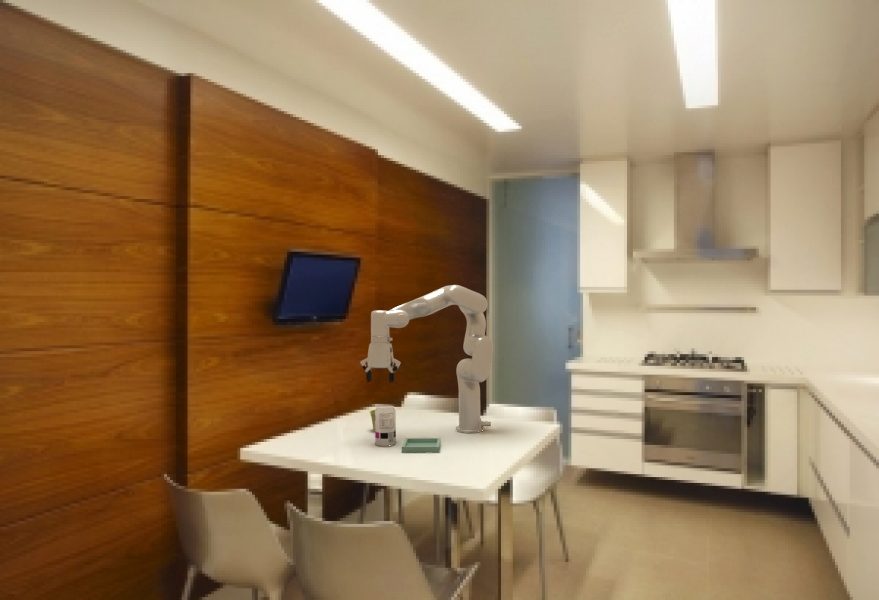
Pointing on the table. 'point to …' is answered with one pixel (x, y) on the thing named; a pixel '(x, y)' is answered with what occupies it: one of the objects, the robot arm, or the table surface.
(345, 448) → the table surface
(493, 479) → the table surface
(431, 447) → the tray
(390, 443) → the supplement can
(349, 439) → the table surface
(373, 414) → the plant pot
